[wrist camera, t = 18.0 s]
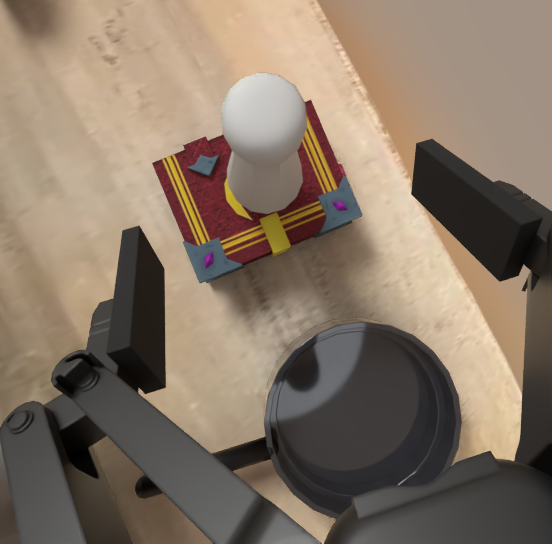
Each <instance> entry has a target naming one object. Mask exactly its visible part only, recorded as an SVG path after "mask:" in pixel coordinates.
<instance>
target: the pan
mask: <svg viewBox="0 0 552 544" xmlns="http://www.w3.org/2000/svg"><path fill="white" fill-rule="evenodd" d="M461 424H462V420H461V412H460V404H459V397H458V394H457V391H456V389H455V386H454V384H453V381H452V379H451V376H450V374H449V372H448V370H447V369H446V367H445V366H444V365H443V363H442V362H441V361H440V359H439V358H438V357H437V355H436V354H435V353H434V352H433V350H431V349H430V348H429V347H428V346H426V345H425V344H424V343H422V342H421V341H420V340H419V339H417V338H416V337H415V336H413V335H412V334H409V333H407V332H405V331H402V330H400V329H398V328H395V327H393V326H391V325H388V324H385V323H382V322H380V321H376V320H370V319H363V318H356V317H355V318H354V317H352V318H344V319H335V320H332V321H331V320H330V321H328V322H325V323H323V324H320V325H318V326H315V327H313V328H311V329H309V330H307V331H306V332H305V333H303V334H302V335H301V336H299V337H298V338H297V339H295V340H294V341H293V342H292V343H291V344H290V345H289V346H288V347H287V349H286V350H285V351H284V352H283V354H282V355H281V356H280V358H279V359H278V360H277V362H276V364H275V366H274V369H273V371H272V373H271V376H270V378H269V380H268V384H267V389H266V396H265V403H264V426H265V435H266V444H267V447H271V448H272V449H273V444H272V437H274V438H275V439H276V440H277V441H278V444H279V451H278V454H276V453H275V451H274V453H273V455H272V456H271V459H272V462H273V464H274V467H275V469H276V472H277V473H278V475H279V476H280V477H281V479H282V480H283V481H284V483H285V484H286V485H287V487H288V488H289V490H290V491H291V492H292V493H293V494H294V495H295V496H296V497H298V498H299V499H300V500H301V501H303V502H304V503H305V504H307V505H308V506H309V507H310V508H312V509H313V510H315V511H318V512H320V513H322V514H325V515H327V516H329V517H332V518H334V519H338V517H339V516H340V515H341V514H342V513H343V512H344V511H345V510H347V509H348V508H349V507H350V506H352V499H351V498H352V497H354V496H357V495H360V494H363V493H366V492H369V491H372V490H375V489H378V488H381V487H384V486H405V485H426V484H428V483H430V482H431V481H433V480H434V479H435V478H437V477H438V476H439V475H440V474H442V473H443V472H444V471H446V470H447V469H448V468H450V467H451V465H452V462H453V460H454V457H455V455H456V452H457V450H458V447H459V439H460V431H461ZM273 450H274V449H273Z"/></svg>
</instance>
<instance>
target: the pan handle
mask: <svg viewBox="0 0 552 544" xmlns="http://www.w3.org/2000/svg"><path fill="white" fill-rule="evenodd" d="M272 444H273V449H274V450H273V449H272V448H271V447H267V444H266V437H263V438H260V439H257V440H254V441H250V442H247V443H244V444H241V445H238V446H235V447H231V448H228V449H225V450H222V451H219V452H216V453H212V455H213V456H214V457H216V458H217V459H218V460H219V461H220V462H222V463H223V464H224V465H225V466H226V467H228V468H229V469H230V470H231V471H235V470H238V469H241V468H244V467H247V466H250V465H253V464H257V463H260V462H263V461H266V460H269V459H271V456H272V455H273V453H274V451H275V453H276V454H278V451H279V444H278V441H277V440H276V439H275V438H274V437H272ZM135 492H136V495H137V496H138V497H139V498H142V499H146V498H150V497H153V496H156V495H159V494H162V493H163V492H162V491H161V490H160V489H159V488H158V487H157V486H156V485H155V484H154V483H153V482H152V481H151V480H150V479H149V478H148V477H147V476H146V475H143V476H142V477H140V478H139V479H138V481H137V482H136V485H135Z"/></svg>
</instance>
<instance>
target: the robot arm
mask: <svg viewBox="0 0 552 544" xmlns="http://www.w3.org/2000/svg"><path fill="white" fill-rule="evenodd" d="M411 194H412V195H413V196H414V197H415V198H416V199H417V200H418V201H419V202H420V203H421V204H422V205H423V206H424V207H425V208H426V209H427V210H428V211H429V212H430V213H431V214H432V215H433V216H434V217H435V218H436V219H437V220H438V221H439V222H440V223H441V224H442V225H443V226H444V227H445V228H446V229H447V230H448V231H449V232H450V233H451V234H452V235H453V236H454V237H455V238H456V239H457V240H458V241H459V242H460V243H461V244H462V245H463V246H464V247H465V248H466V249H467V250H468V251H469V252H470V253H471V254H472V255H473V256H474V257H475V258H476V259H477V260H478V261H479V262H480V263H481V264H482V265H483V266H484V267H485V268H486V269H487V270H488V271H489V272H490V273H492V275H493V276H494V277H495V278H496V279H497V280H499V281H503V280H507V279H510V278H513V277H516V276H519V273H520V271H521V269H522V266H523V264H524V265H525V266H526V267H527V268H529V269H530V270H531V271H530V273H529V275H528V278H527V280H526V282H525V284H524V286H523V289H522V291H526V288H527V306H526V328H525V329H526V330H525V351H524V371H523V372H524V373H523V393H522V414H521V435H520V442H519V445H518V448H517V451H516V455H515V460H514V461H510V460H503V459H495V457H494V456H493V454H492V453H491V451H488V452H485V453H482V454H479V455H476V456H473V457H470V458H467V459H464V460H461V461H458V462H456V463H455V464H453V465H452V466H451V467H450V468H448V469H447V470H446V471H444V472H443V473H442V474H440V475H439V476H438V477H437V478H435V479H434V480H433V481H431V482H430V483H428V484H426V485H405V486H384V487H381V488H378V489H375V490H372V491H369V492H366V493H363V494H360V495H357V496H354V497H352V498H351V499H352V506H350V507H349V508H348V509H347V510H345V511H344V512H343V513H342V514H341V515H340V516H339V517H338V519H337V520H336V522H335V523H334V524H333V526H332V528H331V530H330V531H329V533H328V535H327V538H326V540H325V543H324V544H552V211H550V210H549V209H547V208H546V207H544V206H543V205H541V204H540V203H538V202H537V201H535V200H534V199H531V197H530V196H528V195H527V194H525V193H524V194H523V192H522V191H521V190H519V189H518V188H516V187H515V186H513V185H511V184H508V183H505V182H502V181H496V182H492V181H491V180H489V179H488V178H486V177H485V176H483V175H482V174H481V173H479V172H478V171H476V170H475V169H474V168H472V167H471V166H469V165H468V164H467V163H465V162H464V161H463V160H461V159H459V158H458V157H457V156H455V155H454V154H453V153H451V152H450V151H448V150H447V149H445V148H444V147H443V146H441V145H440V144H439V143H437V142H436V141H434V140H433V139H430V140H426V141H423V142H419V143H417V144H416V152H415V162H414V172H413V182H412V192H411ZM89 335H90V336H89V338H88V343H87V348H86V350H78V351H75V352H73V353H70V354H69V355H67V356H66V357H65V358H63V359H62V360H61V361H60V362H59V363H58V364H57V365H56V367H55V369H54V371H53V373H52V377H51V382H52V384H53V386H54V387H55V388H57V389H58V390H59V391H61V392H62V393H63V394H62V395H60V396H58V397H57V398H55V399H53V400H52V401H50V402H48V403H47V404H45V405H42V404H41V403H39V402H35V401H32V402H27V403H24V404H22V405H21V406H19V407H17V408H16V409H15V410H14V411H12V412H11V413H10V414H9V415H8V417H7V418H6V419H5V421H4V422H3V424H2V426H1V427H0V544H133V543H132V541H131V538H130V536H129V533H128V531H127V528H126V526H125V524H124V521H123V519H122V516H121V514H120V511H119V509H118V506H117V504H116V502H115V499H114V497H113V494H112V492H111V489H110V487H109V484H108V482H107V480H106V477H105V475H104V472H103V470H102V467H101V465H100V462H99V460H98V458H97V455H96V453H95V450H94V448H93V444H95V443H96V442H98V441H99V440H101V439H102V438H104V437H105V436H108V437H109V438H110V439H111V440H112V441H113V442H114V444H115V445H116V446H117V447H118V448H119V449H120V450H121V451H122V452H123V453H124V454H125V455H126V456H127V457H128V458H129V459H130V460H131V461H132V462H133V463H134V464H135V465H136V466H137V467H138V468H139V469H140V470H141V471H142V472H143V473H144V474H145V475H146V476H147V477H148V478H149V479H150V480H151V481H152V482H153V483H154V484H155V485H156V486H157V487H158V488H159V489H160V490H161V491H162V492H163V493H164V494H165V495H166V496H167V497H168V498H169V499H170V500H171V501H172V502H173V503H174V504H175V505H176V506H177V507H178V508H179V509H180V510H181V511H182V512H183V513H184V514H185V515H186V516H187V517H188V518H189V519H190V520H191V521H192V523H193V524H194V525H195V526H196V527H197V528H198V529H199V530H200V531H201V532H202V533H203V534H204V535H205V536H206V537H207V538H208V539H209V540H210V541H211V542H212V543H213V544H322V543H321V542H319V541H318V540H317V539H316V538H315V537H313V536H312V535H311V534H310V533H308V532H307V531H306V530H305V529H304V528H302V527H301V526H300V525H299V524H298V523H296V522H295V521H294V520H293V519H292V518H290V517H289V516H288V515H287V514H285V513H284V512H283V511H282V510H281V509H279V508H278V507H277V506H276V505H274V504H273V503H272V502H270V501H269V500H267V499H266V498H264V497H263V496H261V495H260V494H259V493H258V492H257V491H255V490H254V489H253V488H252V487H251V486H249V485H248V484H247V483H246V482H244V481H243V480H242V479H241V478H240V477H238V476H237V475H236V474H235V473H234V472H232V471H231V470H230V469H229V468H228V467H226V466H225V465H224V464H223V463H222V462H220V461H219V460H218V459H217V458H216V457H214V456H213V455H212V454H211V453H210V452H208V451H207V450H206V449H205V448H203V447H202V446H201V445H200V444H199V443H197V442H196V441H195V440H194V439H193V438H191V437H190V436H189V435H188V434H187V433H185V432H184V431H183V430H182V429H181V428H179V427H178V426H177V425H176V424H175V423H173V422H172V421H171V420H170V419H169V418H167V417H166V416H165V415H164V414H162V413H161V412H160V411H159V410H158V409H156V408H155V407H154V406H153V405H152V404H150V403H149V402H148V401H147V400H146V399H144V398H143V397H142V396H141V395H140V394H138V387H139V388H140V389H141V390H142V391H143V392H144V393H145V394H147V393H150V392H153V391H156V390H160V389H163V388H166V372H165V282H164V267H163V266H162V264H161V262H160V260H159V259H158V257H157V255H156V254H155V252H154V250H153V248H152V247H151V245H150V243H149V241H148V240H147V238H146V236H145V234H144V233H143V231H142V229H141V228H140V226H136V227H133V228H130V229H126V230H123V231H122V239H121V246H120V254H119V261H118V269H117V276H116V284H115V291H114V299H111V300H107V301H104V302H101V303H99V305H98V307H97V308H96V310H95V311H94V313H93V316H92V321H91V327H90V332H89Z"/></svg>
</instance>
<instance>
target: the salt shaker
mask: <svg viewBox="0 0 552 544" xmlns="http://www.w3.org/2000/svg"><path fill="white" fill-rule="evenodd" d="M222 129H223V134H224V137H225V139H226V141H227V142H228V144H229V146H230V147H231V149H232V153H231V157H230V160H229V164H228V168H227V177H228V187H229V189H230V190H231V192H232V194H233V196H234V197H235V199H236V201H237V202H238V203H240V204H241V205H243V206H244V207H246V208H247V209H249V210H250V211H252V212H258V213H265V214H269V213H272V212H276V211H279V210H283V209H285V208H286V207H287V206H288V205H289V204H290V203H291V202H292V201H293V200H294V199H295V198H296V197H297V195H298V192H299V190H300V187H301V185H302V183H303V177H302V167H301V162H300V159H299V156H298V152H297V150H298V149H299V146H300V144H301V142H302V139H303V137H304V134H305V132H306V129H307V118H306V107H305V102H304V100H303V98H302V96H301V95H300V93H299V91H298V89H297V87H296V86H295V85H293V84H292V83H290V82H289V81H287V80H286V79H284V78H283V77H282V76H280V75H274V74H269V73H263V72H260V73H257V74H253V75H250V76H247V77H243V78H242V79H241V80H240V81H239V82H237V83H236V84H235V85H234V86H233V87H232V88H231V89H229V91H228V94H227V96H226V99H225V101H224V104H223V107H222Z"/></svg>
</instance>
